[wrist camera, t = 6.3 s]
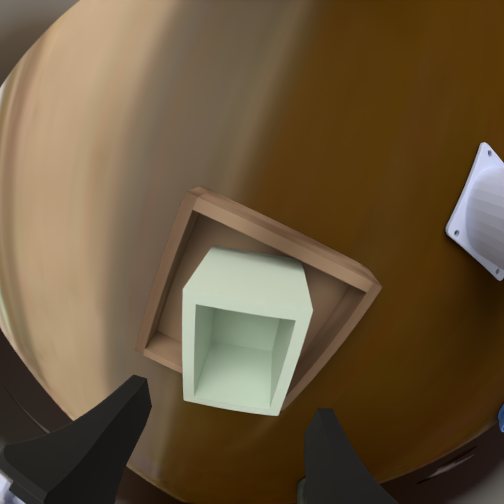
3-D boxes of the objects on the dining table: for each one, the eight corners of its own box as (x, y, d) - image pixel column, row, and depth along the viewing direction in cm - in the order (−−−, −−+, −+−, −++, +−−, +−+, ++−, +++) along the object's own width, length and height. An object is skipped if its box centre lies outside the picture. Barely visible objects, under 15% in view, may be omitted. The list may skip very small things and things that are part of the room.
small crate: (301, 259, 17) (313, 310, 11) (278, 352, 19) (278, 416, 13) (212, 245, 17) (182, 289, 11) (205, 340, 19) (183, 400, 14)
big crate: (367, 267, 17) (382, 287, 14) (283, 384, 21) (283, 410, 18) (200, 186, 16) (185, 191, 13) (149, 328, 20) (134, 350, 17)
